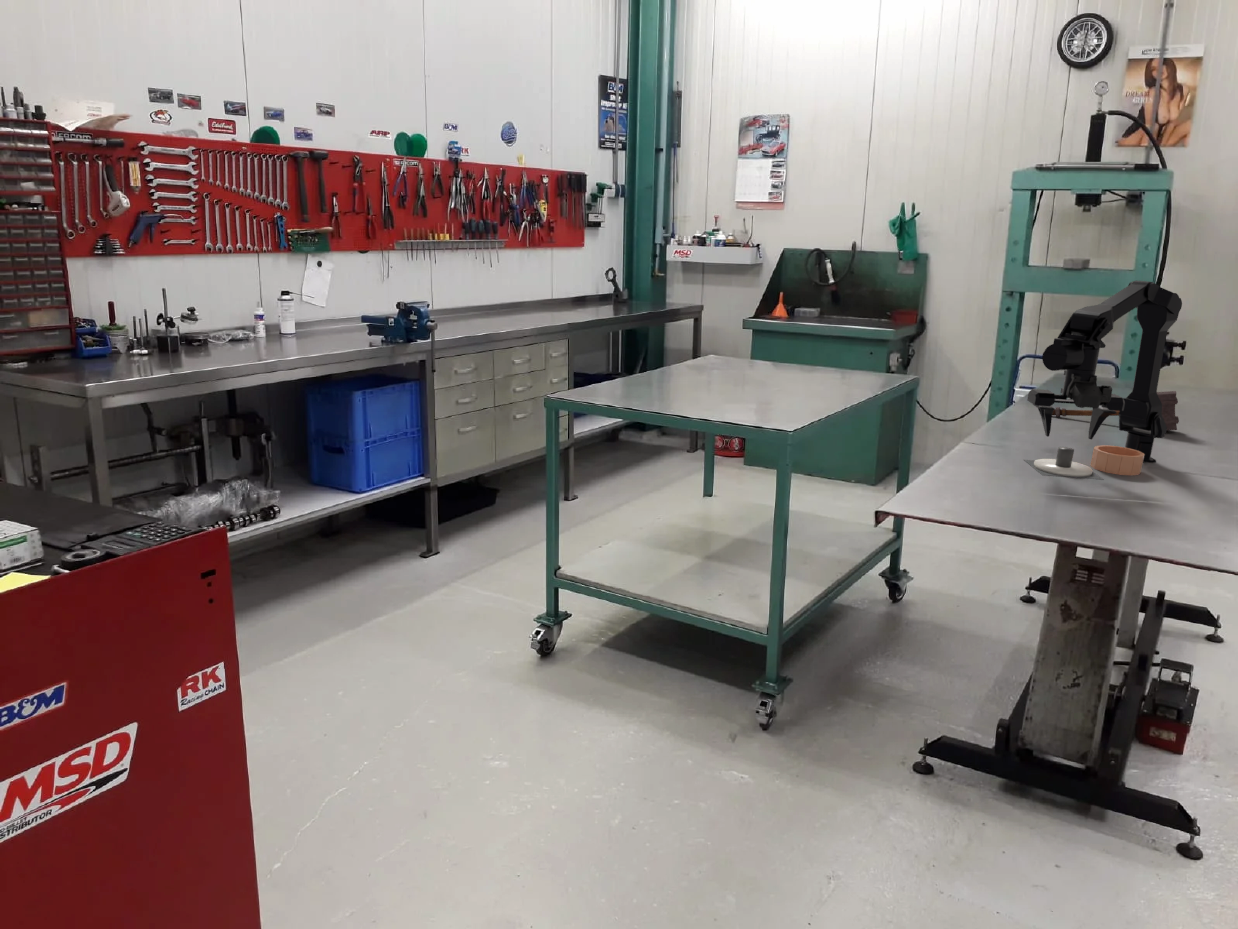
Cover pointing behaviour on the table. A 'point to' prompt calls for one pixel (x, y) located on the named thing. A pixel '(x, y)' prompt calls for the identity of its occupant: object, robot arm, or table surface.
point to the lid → (1063, 464)
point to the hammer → (1166, 399)
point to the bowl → (1117, 460)
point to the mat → (1093, 476)
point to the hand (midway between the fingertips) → (1068, 437)
